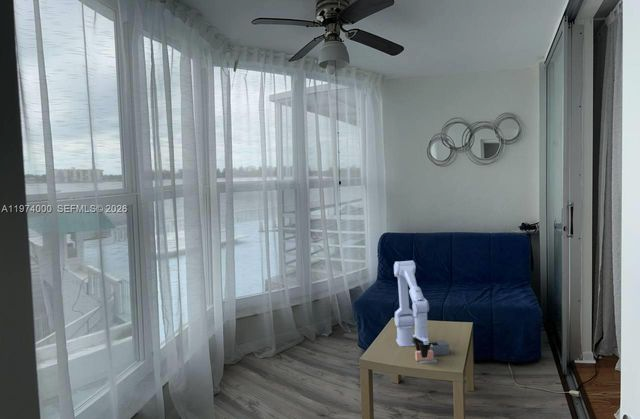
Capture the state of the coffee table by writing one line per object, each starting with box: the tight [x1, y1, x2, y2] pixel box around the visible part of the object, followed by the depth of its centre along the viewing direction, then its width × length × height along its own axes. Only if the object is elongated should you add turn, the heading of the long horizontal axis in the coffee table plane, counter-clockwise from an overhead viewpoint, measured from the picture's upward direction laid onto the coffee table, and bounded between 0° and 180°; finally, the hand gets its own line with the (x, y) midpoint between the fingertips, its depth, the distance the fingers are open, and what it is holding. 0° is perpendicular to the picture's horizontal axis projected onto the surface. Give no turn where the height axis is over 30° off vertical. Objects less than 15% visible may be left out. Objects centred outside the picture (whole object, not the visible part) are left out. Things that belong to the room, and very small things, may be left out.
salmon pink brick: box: [414, 350, 434, 362], centre depth 202 cm, size 2×8×4 cm, turn 95°
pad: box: [419, 356, 439, 365], centre depth 202 cm, size 7×8×1 cm
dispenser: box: [428, 339, 450, 357], centre depth 209 cm, size 6×9×5 cm, turn 95°
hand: (421, 354), depth 202 cm, fingers open, 7 cm apart
